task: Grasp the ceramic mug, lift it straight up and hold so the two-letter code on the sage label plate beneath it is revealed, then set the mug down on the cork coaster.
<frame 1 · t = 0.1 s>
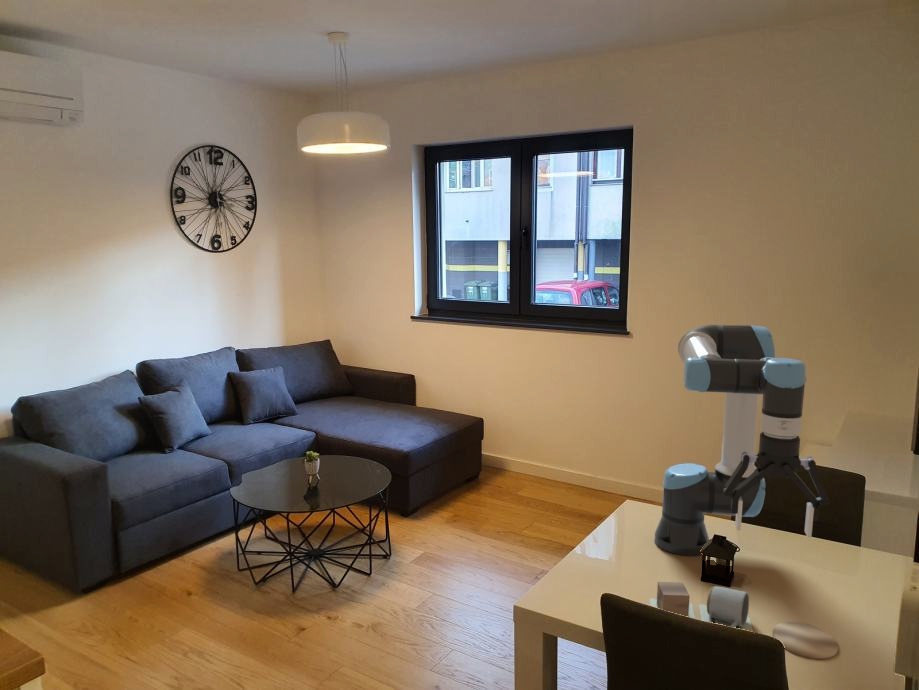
hand: (772, 531, 142), 28 cm above the table, fingers open, 13 cm apart
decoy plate: (672, 612, 162), on the table
code plate: (726, 623, 157), on the table
coaster: (804, 640, 150), on the table
ceramic mug: (726, 623, 157), resting on code plate
walnut block: (672, 611, 162), resting on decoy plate
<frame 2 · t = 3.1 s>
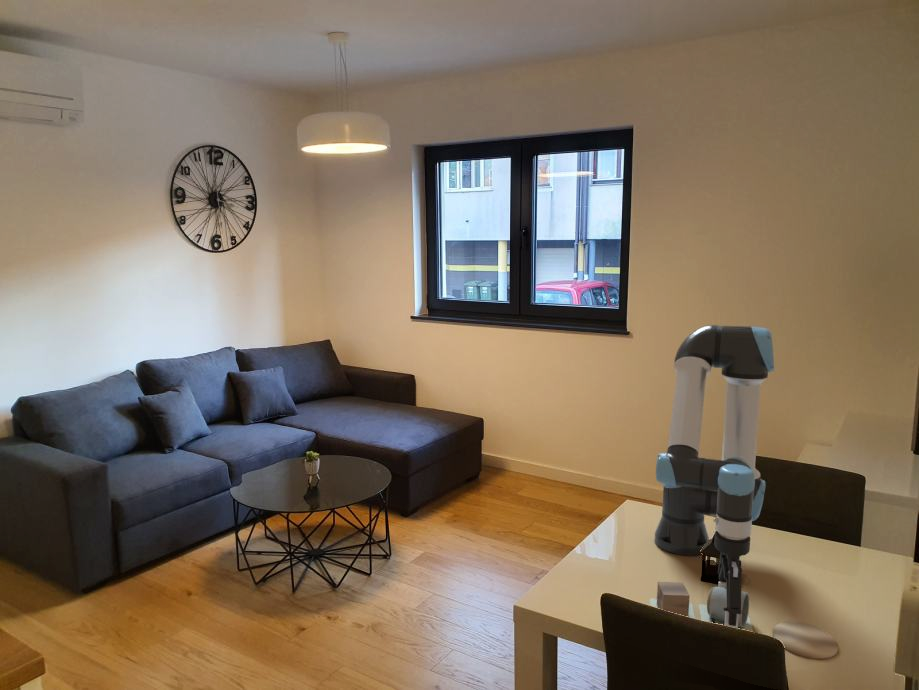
hand: (726, 621, 157), 1 cm above the table, fingers closed on ceramic mug, 11 cm apart
ceramic mug: (726, 624, 157), resting on code plate, touching gripper
everything else where it was.
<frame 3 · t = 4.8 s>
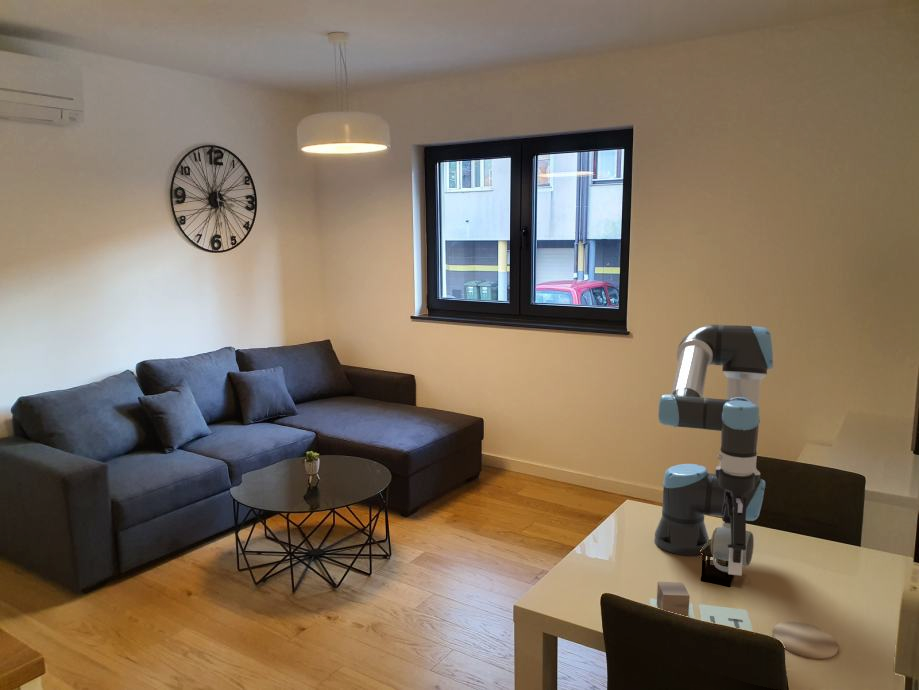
hand: (730, 561, 155), 16 cm above the table, fingers closed on ceramic mug, 11 cm apart
ceramic mug: (730, 563, 154), point 15 cm above the table, touching gripper
everything else where it was.
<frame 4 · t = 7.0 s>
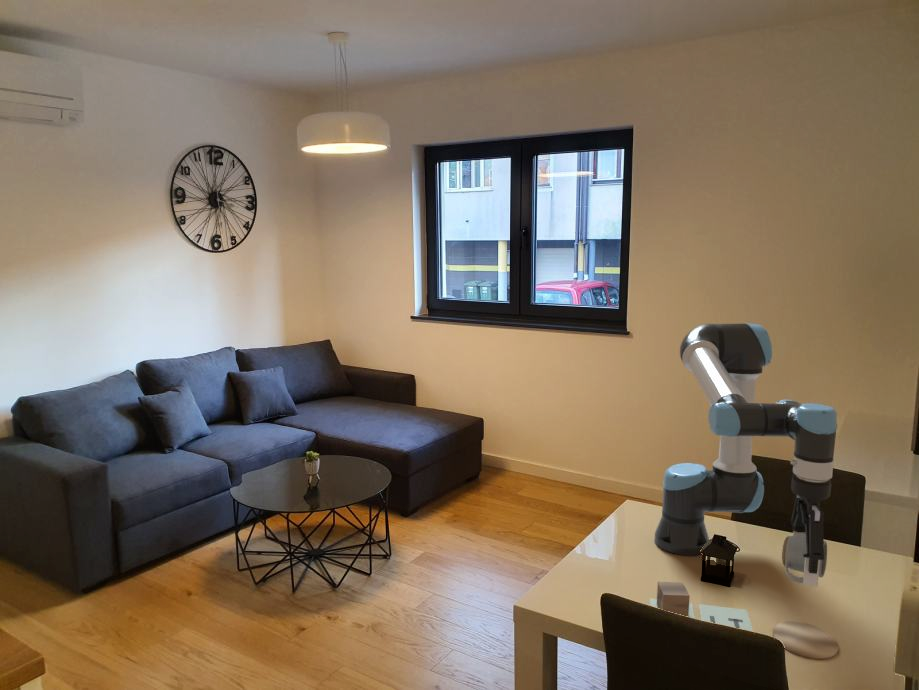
hand: (803, 571, 148), 16 cm above the table, fingers closed on ceramic mug, 11 cm apart
ceramic mug: (803, 574, 148), point 16 cm above the table, touching gripper
everything else where it was.
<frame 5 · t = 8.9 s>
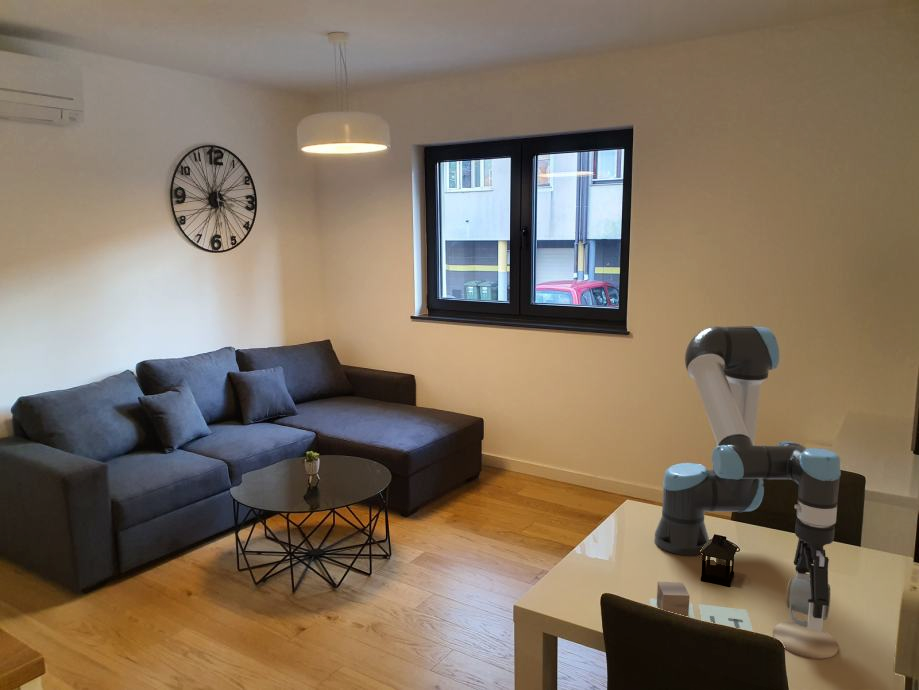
hand: (807, 614, 149), 6 cm above the table, fingers closed on ceramic mug, 11 cm apart
ceramic mug: (807, 617, 149), point 6 cm above the table, touching gripper
everything else where it was.
when the fingers open (3 cm above the table, at t = 10.7 s): ceramic mug drops 2 cm, resting on coaster.
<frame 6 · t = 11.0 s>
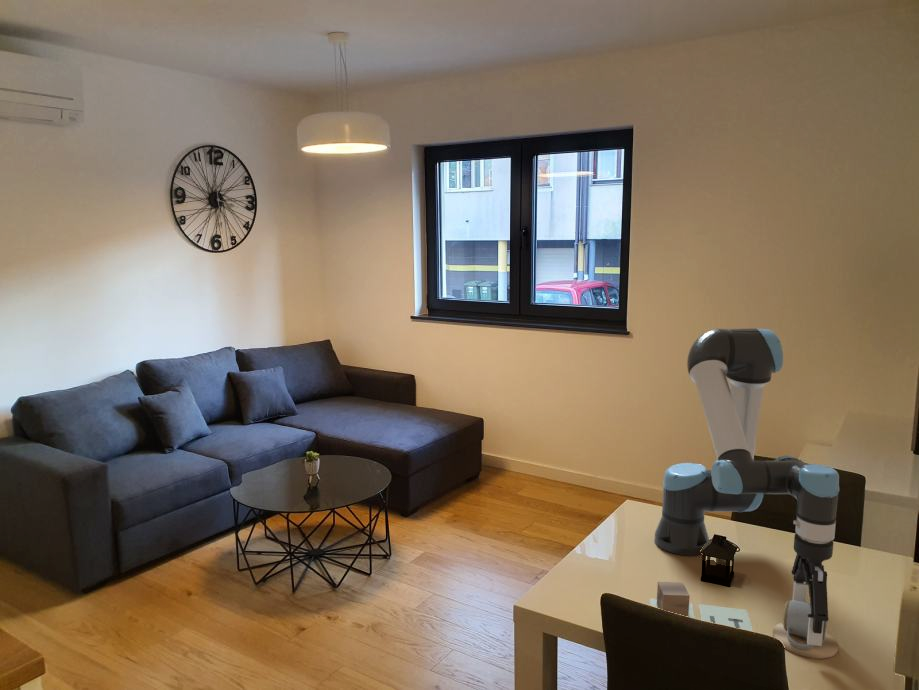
hand: (805, 626, 150), 4 cm above the table, fingers open, 13 cm apart
ceramic mug: (804, 639, 150), resting on coaster
everything else where it was.
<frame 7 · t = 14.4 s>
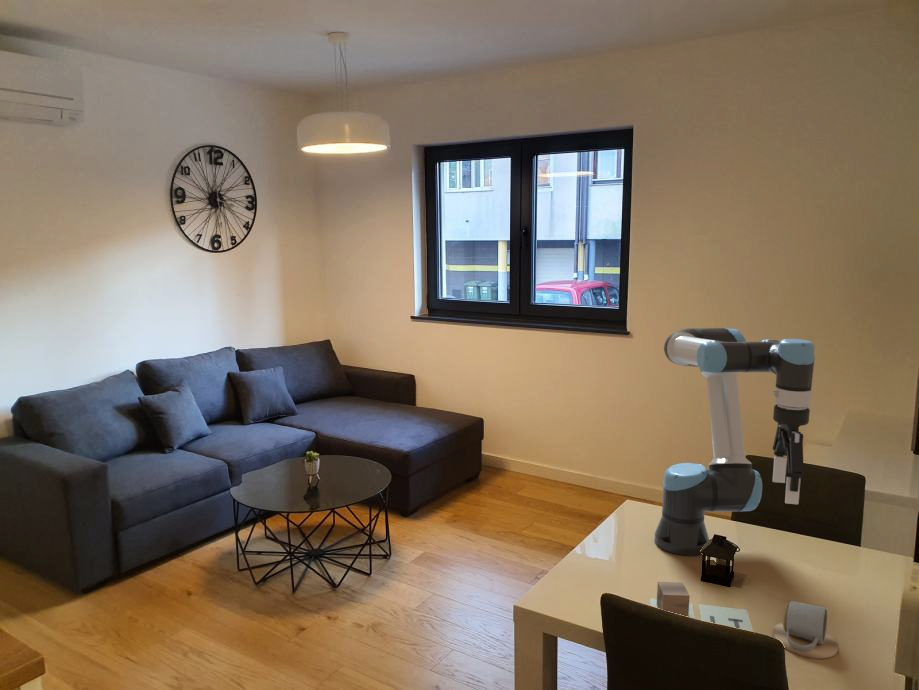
hand: (784, 492, 161), 29 cm above the table, fingers open, 13 cm apart
nothing on the table moved.
at the end: ceramic mug 0.7 cm from the coaster (horizontally); ceramic mug tilted 1°; ceramic mug resting on coaster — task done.
